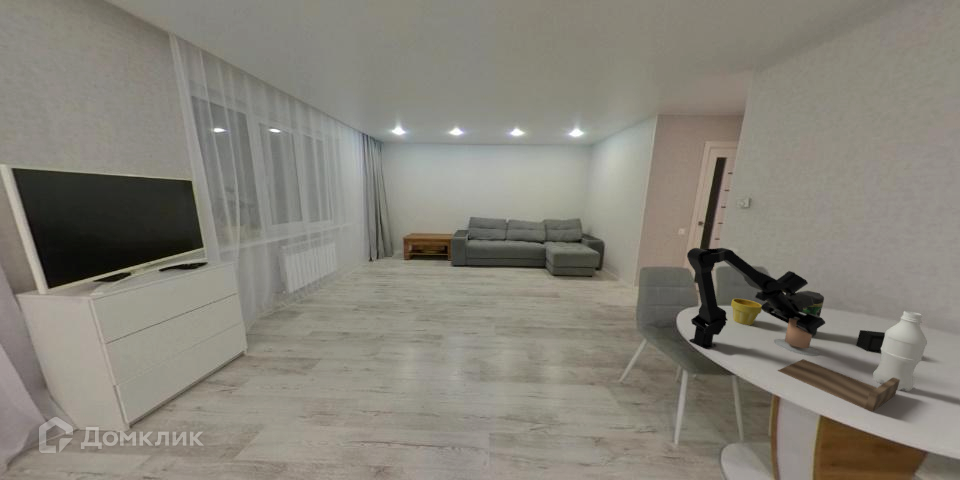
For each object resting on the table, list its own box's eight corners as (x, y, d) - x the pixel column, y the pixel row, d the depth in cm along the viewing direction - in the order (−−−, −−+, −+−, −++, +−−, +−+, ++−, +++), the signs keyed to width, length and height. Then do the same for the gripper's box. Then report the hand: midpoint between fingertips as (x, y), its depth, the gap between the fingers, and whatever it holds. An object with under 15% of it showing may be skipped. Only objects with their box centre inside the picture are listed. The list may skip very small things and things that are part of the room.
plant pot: (764, 328, 126) (768, 308, 124) (738, 325, 128) (741, 305, 126) (747, 318, 136) (751, 299, 134) (723, 316, 138) (726, 297, 136)
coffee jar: (792, 326, 128) (801, 287, 125) (818, 334, 121) (828, 293, 118) (783, 330, 124) (791, 290, 121) (809, 338, 117) (819, 297, 114)
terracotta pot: (813, 350, 104) (819, 324, 102) (789, 345, 107) (795, 320, 105) (803, 342, 110) (809, 317, 108) (781, 338, 113) (786, 313, 111)
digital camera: (870, 353, 107) (874, 336, 106) (855, 345, 112) (859, 329, 111) (906, 357, 105) (911, 340, 103) (889, 349, 110) (894, 333, 109)
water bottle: (864, 379, 91) (884, 308, 87) (883, 379, 92) (904, 307, 88) (898, 395, 84) (922, 318, 80) (918, 394, 85) (943, 318, 81)
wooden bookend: (871, 415, 77) (876, 395, 76) (776, 373, 94) (780, 357, 93) (894, 397, 83) (900, 379, 82) (802, 361, 101) (806, 346, 100)
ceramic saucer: (810, 361, 101) (811, 358, 101) (766, 344, 112) (767, 342, 112) (825, 354, 106) (826, 352, 105) (782, 339, 117) (782, 336, 116)
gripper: (825, 296, 96) (853, 328, 97) (774, 279, 114) (798, 306, 115) (795, 316, 98) (823, 347, 99) (750, 296, 116) (773, 323, 117)
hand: (803, 329), depth 107 cm, fingers closed on terracotta pot, 6 cm apart
